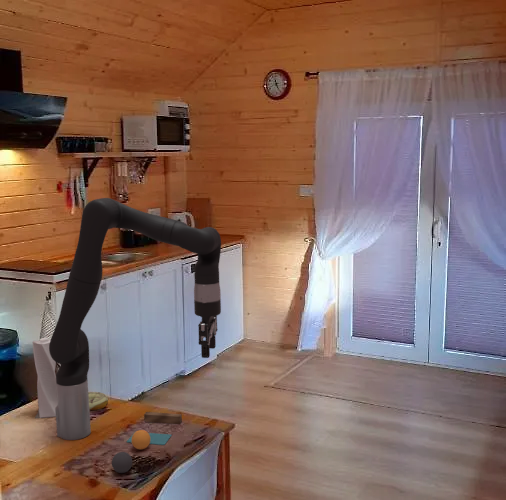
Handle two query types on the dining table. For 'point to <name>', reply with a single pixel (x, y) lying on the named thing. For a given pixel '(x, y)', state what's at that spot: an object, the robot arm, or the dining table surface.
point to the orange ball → (140, 439)
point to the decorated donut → (97, 400)
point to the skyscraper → (45, 378)
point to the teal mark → (156, 438)
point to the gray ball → (121, 462)
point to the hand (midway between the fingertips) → (208, 352)
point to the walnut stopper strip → (162, 417)
